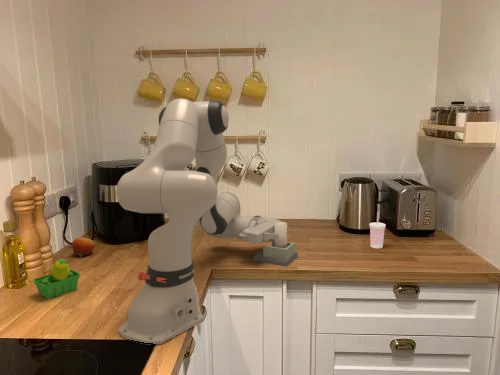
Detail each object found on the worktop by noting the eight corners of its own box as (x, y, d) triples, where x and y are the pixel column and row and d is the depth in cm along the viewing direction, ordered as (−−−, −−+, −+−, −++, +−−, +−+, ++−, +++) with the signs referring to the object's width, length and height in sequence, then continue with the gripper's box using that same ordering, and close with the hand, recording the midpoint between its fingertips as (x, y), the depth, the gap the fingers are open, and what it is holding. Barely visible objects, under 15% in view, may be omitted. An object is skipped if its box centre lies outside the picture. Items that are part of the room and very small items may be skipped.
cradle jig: (286, 266, 147) (286, 250, 146) (253, 260, 153) (253, 245, 152) (297, 256, 157) (297, 242, 156) (266, 251, 162) (266, 237, 161)
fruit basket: (70, 283, 135) (66, 249, 133) (84, 290, 130) (81, 255, 128) (33, 295, 127) (29, 259, 125) (47, 303, 121) (43, 266, 119)
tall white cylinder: (284, 257, 151) (284, 225, 148) (272, 256, 153) (272, 224, 150) (288, 254, 154) (288, 222, 152) (277, 252, 156) (277, 221, 154)
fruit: (63, 254, 159) (71, 233, 161) (79, 258, 165) (86, 239, 168) (78, 257, 155) (86, 236, 157) (94, 261, 162) (101, 241, 164)
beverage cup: (382, 244, 169) (384, 210, 166) (386, 249, 163) (387, 213, 160) (367, 243, 169) (368, 209, 167) (370, 248, 163) (371, 213, 161)
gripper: (235, 227, 148) (270, 232, 142) (260, 214, 166) (293, 217, 160) (235, 244, 149) (270, 250, 143) (260, 229, 167) (293, 234, 161)
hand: (282, 232), depth 152 cm, fingers open, 8 cm apart
